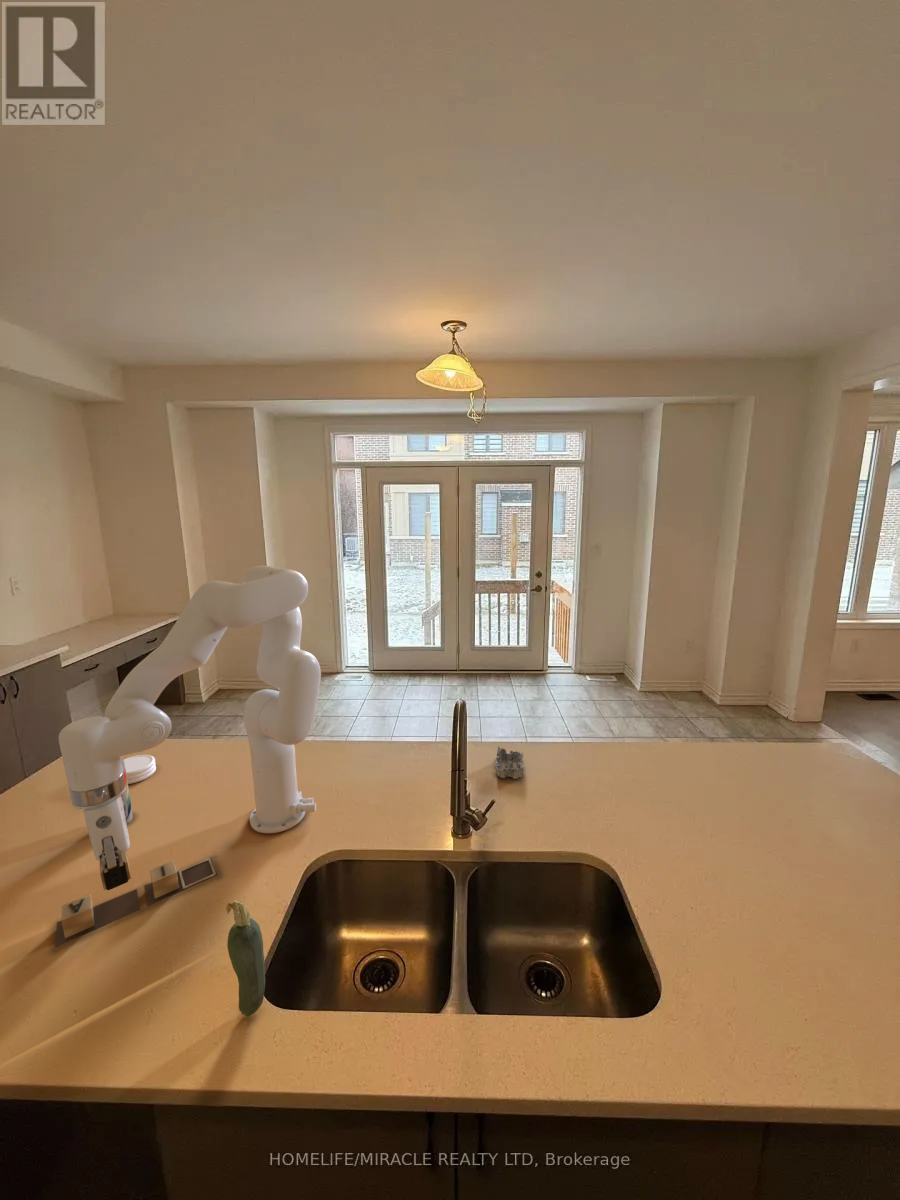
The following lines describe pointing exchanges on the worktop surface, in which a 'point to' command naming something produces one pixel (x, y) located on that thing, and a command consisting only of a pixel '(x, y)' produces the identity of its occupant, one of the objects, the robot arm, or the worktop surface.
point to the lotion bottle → (126, 797)
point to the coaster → (139, 768)
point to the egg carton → (509, 763)
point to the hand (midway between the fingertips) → (116, 876)
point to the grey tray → (177, 879)
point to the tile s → (124, 858)
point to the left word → (93, 915)
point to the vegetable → (247, 958)
